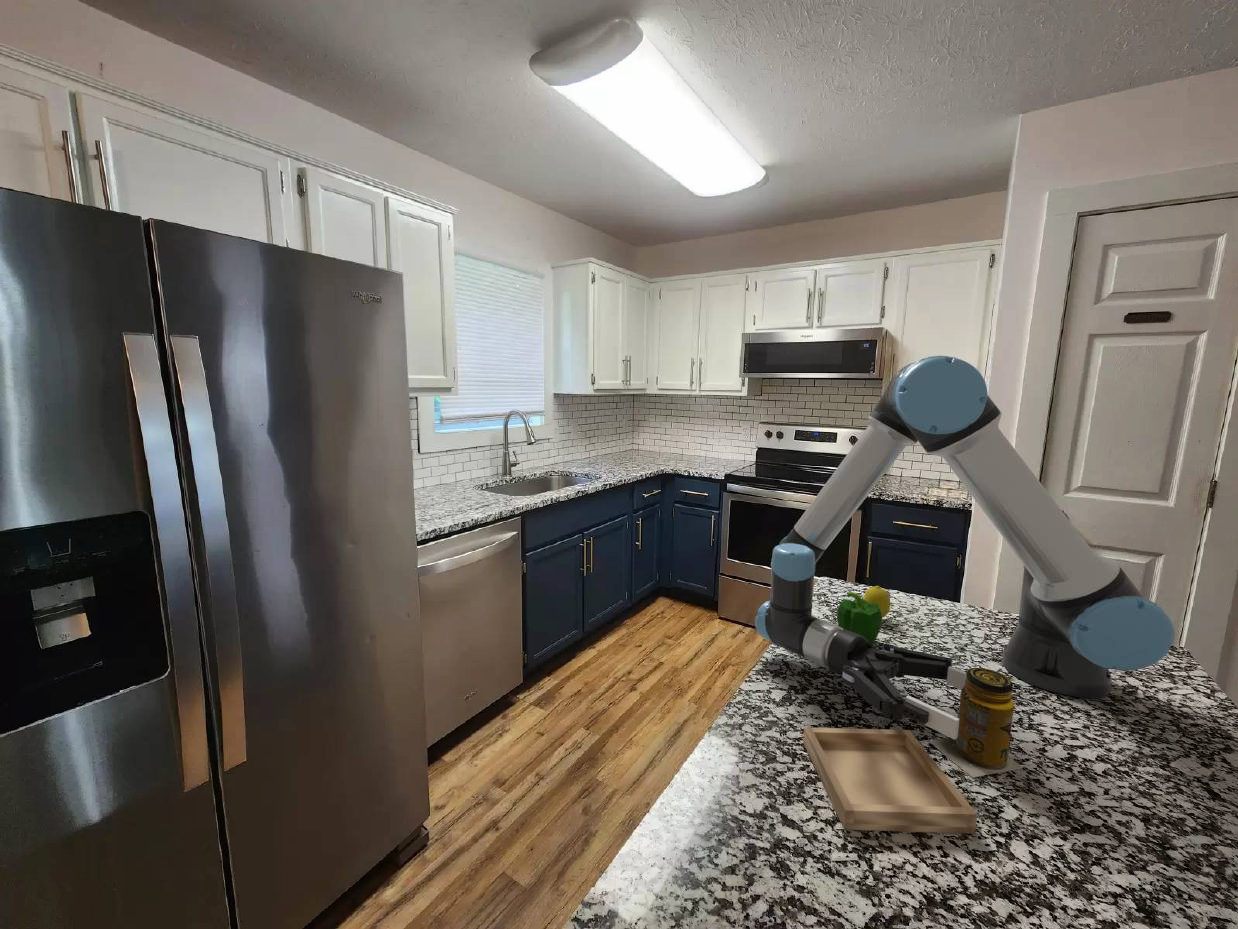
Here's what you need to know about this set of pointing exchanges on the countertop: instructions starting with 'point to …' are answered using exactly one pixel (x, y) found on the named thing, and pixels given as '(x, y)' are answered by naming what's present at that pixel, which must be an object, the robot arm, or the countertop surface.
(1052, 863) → the countertop surface
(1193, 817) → the countertop surface
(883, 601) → the lemon
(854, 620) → the bell pepper
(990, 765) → the condiment
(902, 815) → the tray
